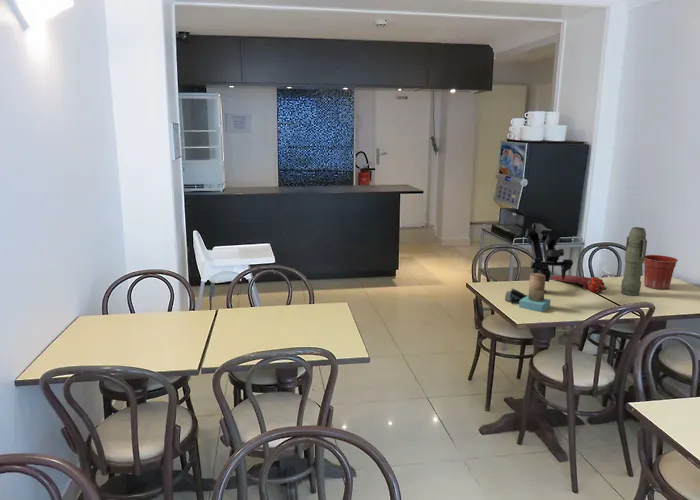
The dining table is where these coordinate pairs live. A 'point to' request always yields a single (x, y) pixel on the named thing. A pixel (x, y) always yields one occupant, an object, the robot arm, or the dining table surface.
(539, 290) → the brown vase
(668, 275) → the flower pot
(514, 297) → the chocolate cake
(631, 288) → the thermos
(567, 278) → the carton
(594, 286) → the dragon fruit
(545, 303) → the base block
